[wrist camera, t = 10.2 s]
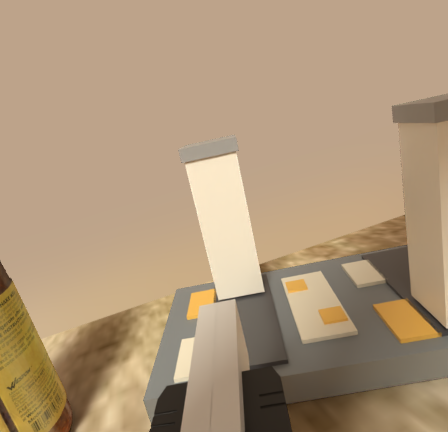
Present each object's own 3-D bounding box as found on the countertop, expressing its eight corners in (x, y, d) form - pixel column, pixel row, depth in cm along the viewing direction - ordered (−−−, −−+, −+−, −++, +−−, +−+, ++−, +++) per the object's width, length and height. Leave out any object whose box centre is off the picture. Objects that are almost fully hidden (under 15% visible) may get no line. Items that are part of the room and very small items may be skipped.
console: (411, 263, 33) (410, 239, 32) (539, 362, 19) (540, 324, 19) (181, 306, 34) (175, 284, 34) (152, 426, 21) (140, 393, 20)
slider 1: (262, 270, 33) (234, 134, 29) (267, 292, 29) (235, 137, 25) (217, 278, 33) (185, 145, 30) (216, 301, 29) (178, 149, 25)
